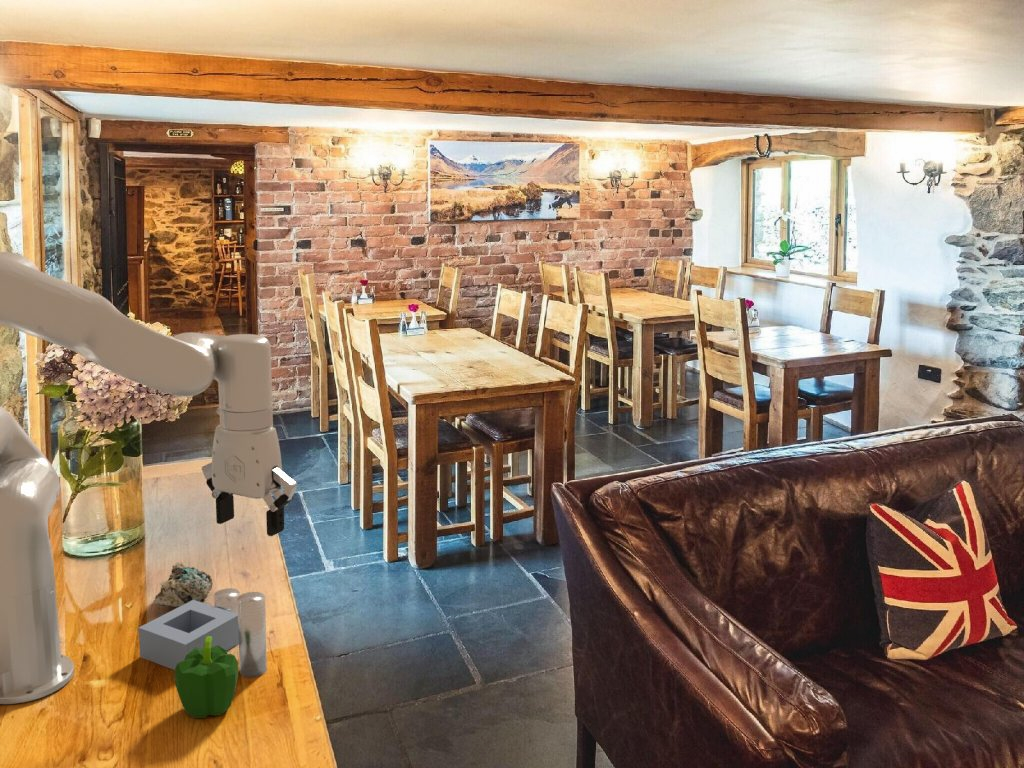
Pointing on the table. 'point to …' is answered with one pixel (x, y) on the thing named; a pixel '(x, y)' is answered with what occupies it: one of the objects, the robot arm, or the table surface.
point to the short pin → (227, 600)
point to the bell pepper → (206, 680)
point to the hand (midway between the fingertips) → (250, 526)
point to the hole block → (187, 632)
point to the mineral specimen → (184, 586)
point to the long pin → (252, 634)
